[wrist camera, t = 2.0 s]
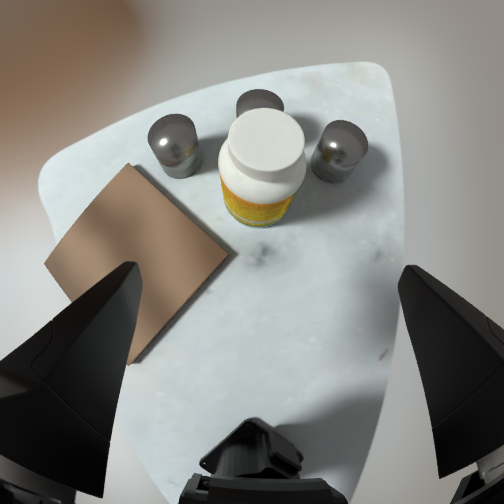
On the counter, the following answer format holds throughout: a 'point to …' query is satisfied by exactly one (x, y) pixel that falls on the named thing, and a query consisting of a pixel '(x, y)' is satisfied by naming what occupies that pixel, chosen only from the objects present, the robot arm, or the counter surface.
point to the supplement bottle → (262, 166)
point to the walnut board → (136, 251)
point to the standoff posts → (183, 130)
